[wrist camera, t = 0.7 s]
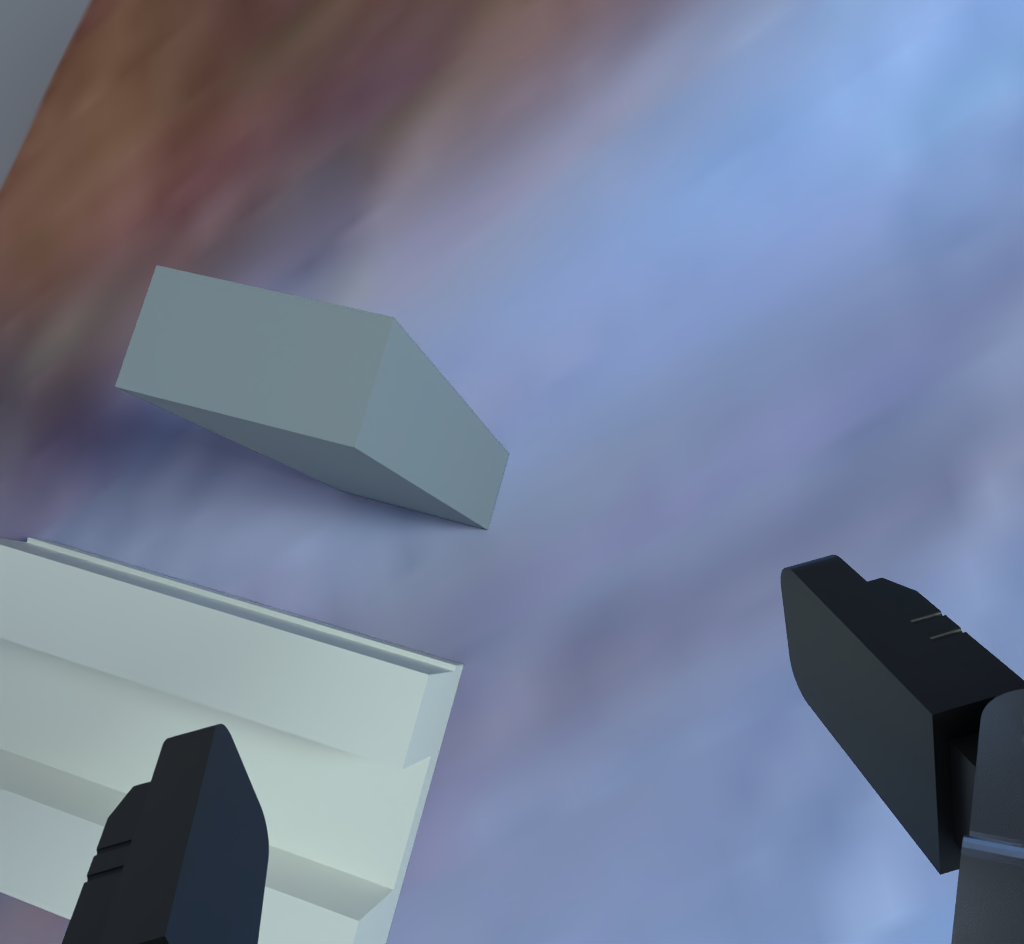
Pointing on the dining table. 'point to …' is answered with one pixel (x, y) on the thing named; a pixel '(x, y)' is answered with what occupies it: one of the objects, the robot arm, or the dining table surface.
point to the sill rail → (203, 703)
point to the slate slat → (314, 393)
